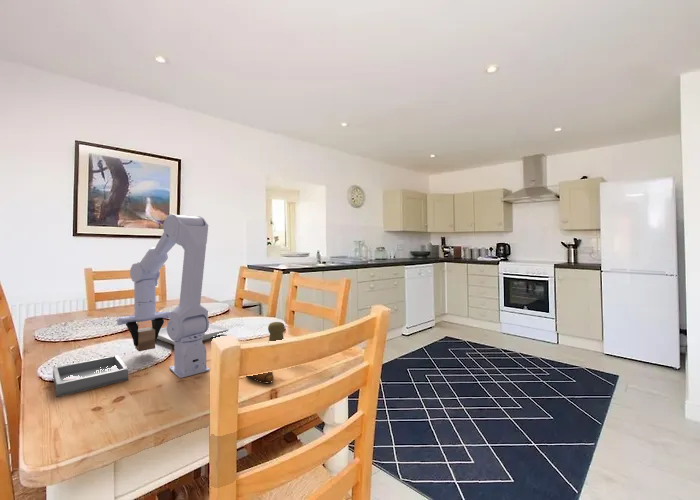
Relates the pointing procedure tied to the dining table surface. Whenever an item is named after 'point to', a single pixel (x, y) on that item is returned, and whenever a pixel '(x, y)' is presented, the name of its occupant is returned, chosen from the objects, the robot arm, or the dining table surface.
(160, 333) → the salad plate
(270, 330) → the cork
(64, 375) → the tray
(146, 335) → the walnut block
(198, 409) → the dining table surface
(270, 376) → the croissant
